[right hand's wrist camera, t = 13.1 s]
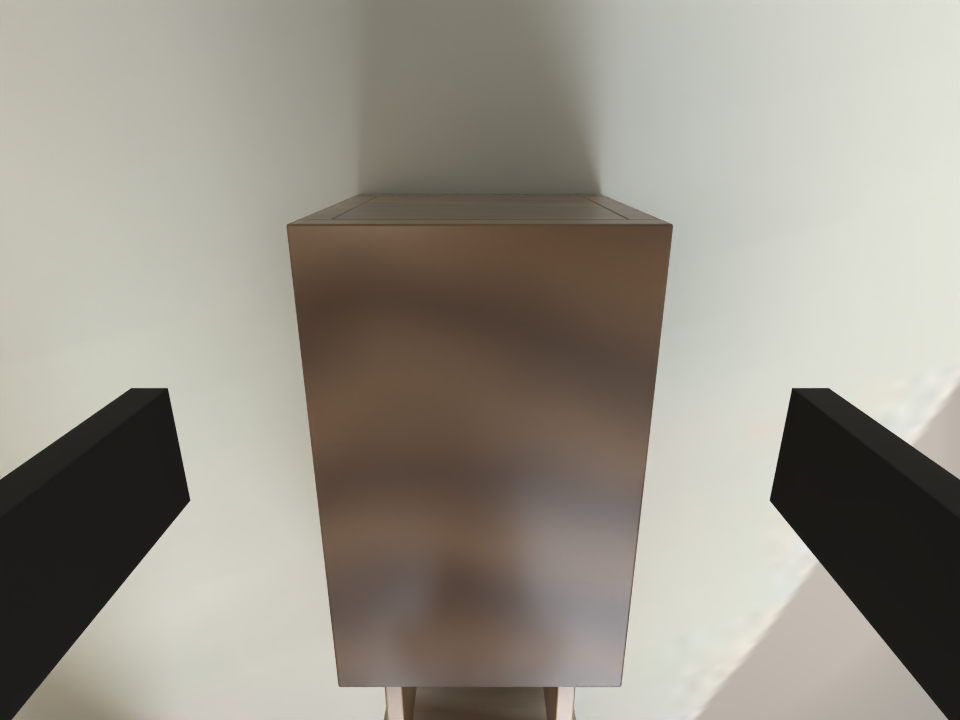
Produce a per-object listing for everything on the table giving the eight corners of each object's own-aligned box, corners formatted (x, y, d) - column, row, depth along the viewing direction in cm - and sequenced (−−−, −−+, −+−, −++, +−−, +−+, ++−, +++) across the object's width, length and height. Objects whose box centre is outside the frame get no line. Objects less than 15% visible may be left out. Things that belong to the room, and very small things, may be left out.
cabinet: (579, 524, 34) (621, 687, 24) (380, 524, 34) (338, 687, 24) (602, 194, 28) (674, 224, 18) (357, 194, 28) (285, 223, 18)
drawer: (558, 729, 39) (580, 890, 30) (401, 729, 39) (379, 890, 30) (579, 412, 31) (616, 513, 22) (380, 412, 31) (342, 513, 22)
